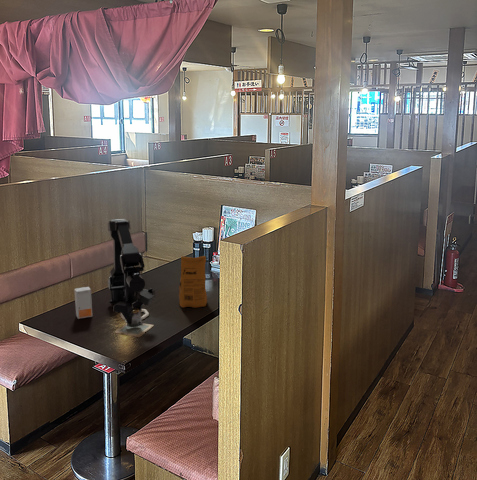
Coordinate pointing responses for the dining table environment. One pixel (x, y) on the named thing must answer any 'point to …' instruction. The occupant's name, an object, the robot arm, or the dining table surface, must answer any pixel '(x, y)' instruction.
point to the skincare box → (83, 302)
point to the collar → (141, 317)
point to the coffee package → (192, 282)
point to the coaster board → (134, 330)
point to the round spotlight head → (135, 318)
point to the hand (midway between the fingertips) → (133, 321)
